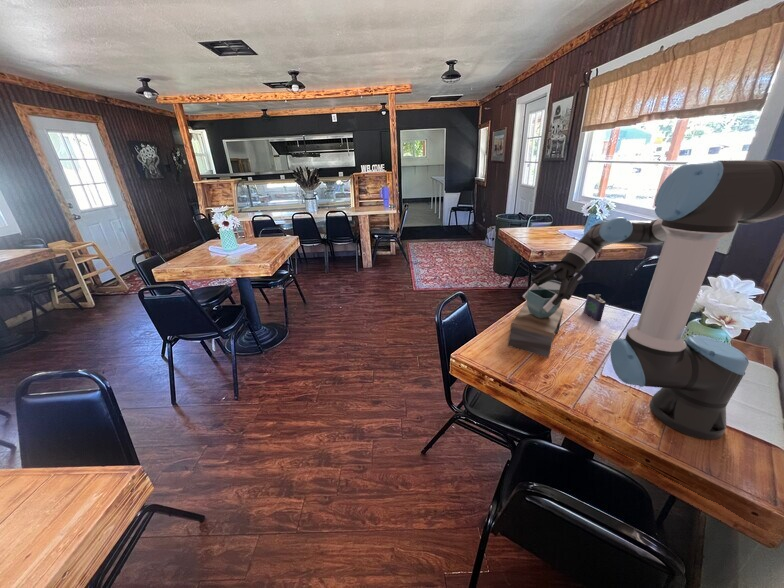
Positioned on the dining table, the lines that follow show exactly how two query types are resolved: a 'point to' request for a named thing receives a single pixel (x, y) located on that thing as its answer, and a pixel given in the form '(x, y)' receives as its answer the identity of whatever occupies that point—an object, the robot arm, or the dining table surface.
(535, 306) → the flower pot
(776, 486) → the dining table surface
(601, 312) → the flask
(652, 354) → the robot arm
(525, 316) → the grey wooden block
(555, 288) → the reusable coffee cup
